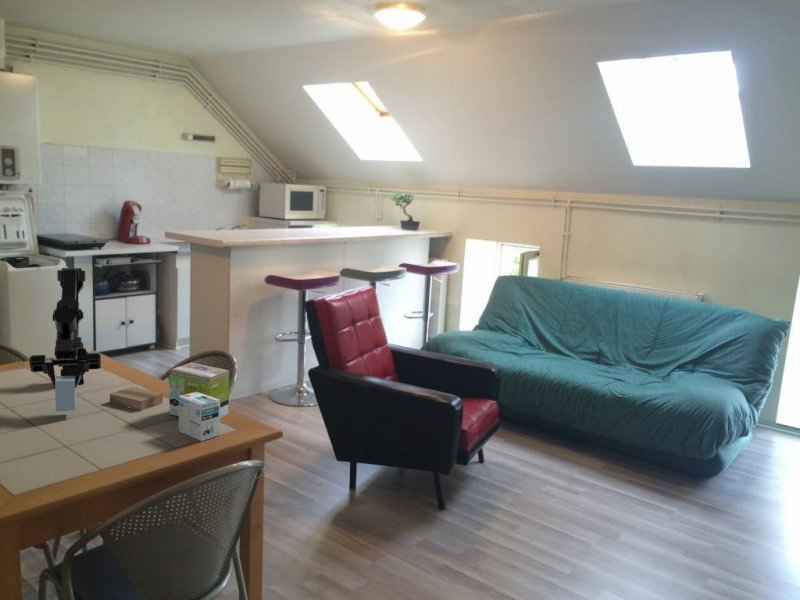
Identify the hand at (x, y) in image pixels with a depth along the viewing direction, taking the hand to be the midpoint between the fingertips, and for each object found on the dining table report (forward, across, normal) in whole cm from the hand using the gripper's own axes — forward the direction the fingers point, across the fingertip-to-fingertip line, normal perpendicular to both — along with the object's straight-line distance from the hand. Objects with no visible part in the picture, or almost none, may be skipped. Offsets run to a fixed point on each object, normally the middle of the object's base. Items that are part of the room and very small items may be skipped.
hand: (65, 387), depth 192 cm
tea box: (+11, +37, +2) cm, 39 cm away
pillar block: (+4, 0, +6) cm, 7 cm away
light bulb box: (+22, +35, -9) cm, 42 cm away
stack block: (0, +19, +13) cm, 23 cm away
